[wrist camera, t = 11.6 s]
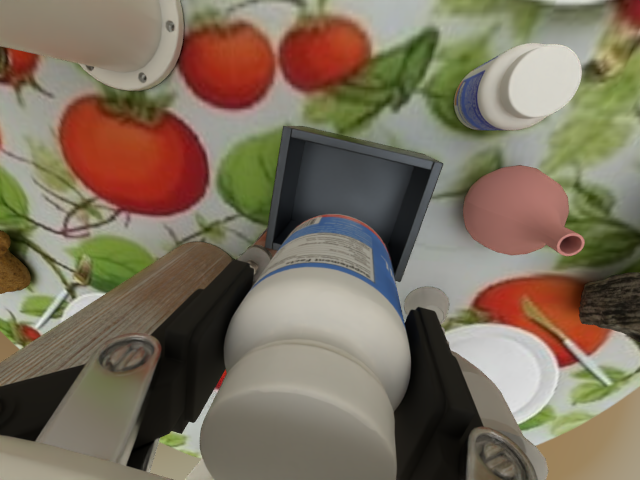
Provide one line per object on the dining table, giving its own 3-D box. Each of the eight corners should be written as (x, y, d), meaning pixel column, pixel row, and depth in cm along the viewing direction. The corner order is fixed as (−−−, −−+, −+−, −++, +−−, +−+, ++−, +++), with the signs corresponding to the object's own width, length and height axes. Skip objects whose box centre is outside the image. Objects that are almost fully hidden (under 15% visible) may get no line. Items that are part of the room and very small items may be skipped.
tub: (284, 222, 34) (264, 247, 27) (301, 125, 30) (283, 125, 23) (392, 249, 33) (400, 282, 26) (424, 154, 29) (443, 163, 22)
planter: (153, 272, 39) (-99, 448, 18) (198, 224, 35) (-45, 370, 14) (210, 324, 40) (44, 540, 19) (259, 282, 37) (122, 489, 16)
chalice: (471, 297, 34) (576, 464, 17) (436, 339, 36) (498, 519, 20) (415, 268, 34) (465, 409, 17) (383, 312, 36) (401, 472, 19)
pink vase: (524, 239, 31) (615, 302, 20) (447, 234, 32) (492, 293, 21) (545, 161, 28) (665, 185, 17) (460, 159, 29) (520, 180, 18)
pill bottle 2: (481, 142, 28) (536, 150, 19) (439, 104, 28) (476, 93, 19) (531, 91, 26) (618, 73, 17) (487, 48, 26) (554, 6, 17)
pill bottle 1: (379, 317, 16) (402, 576, 7) (279, 300, 16) (174, 521, 7) (400, 217, 14) (473, 395, 5) (285, 202, 14) (149, 335, 5)
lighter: (262, 283, 37) (229, 335, 28) (239, 268, 37) (197, 316, 27) (295, 233, 34) (270, 273, 25) (270, 216, 34) (235, 251, 24)
